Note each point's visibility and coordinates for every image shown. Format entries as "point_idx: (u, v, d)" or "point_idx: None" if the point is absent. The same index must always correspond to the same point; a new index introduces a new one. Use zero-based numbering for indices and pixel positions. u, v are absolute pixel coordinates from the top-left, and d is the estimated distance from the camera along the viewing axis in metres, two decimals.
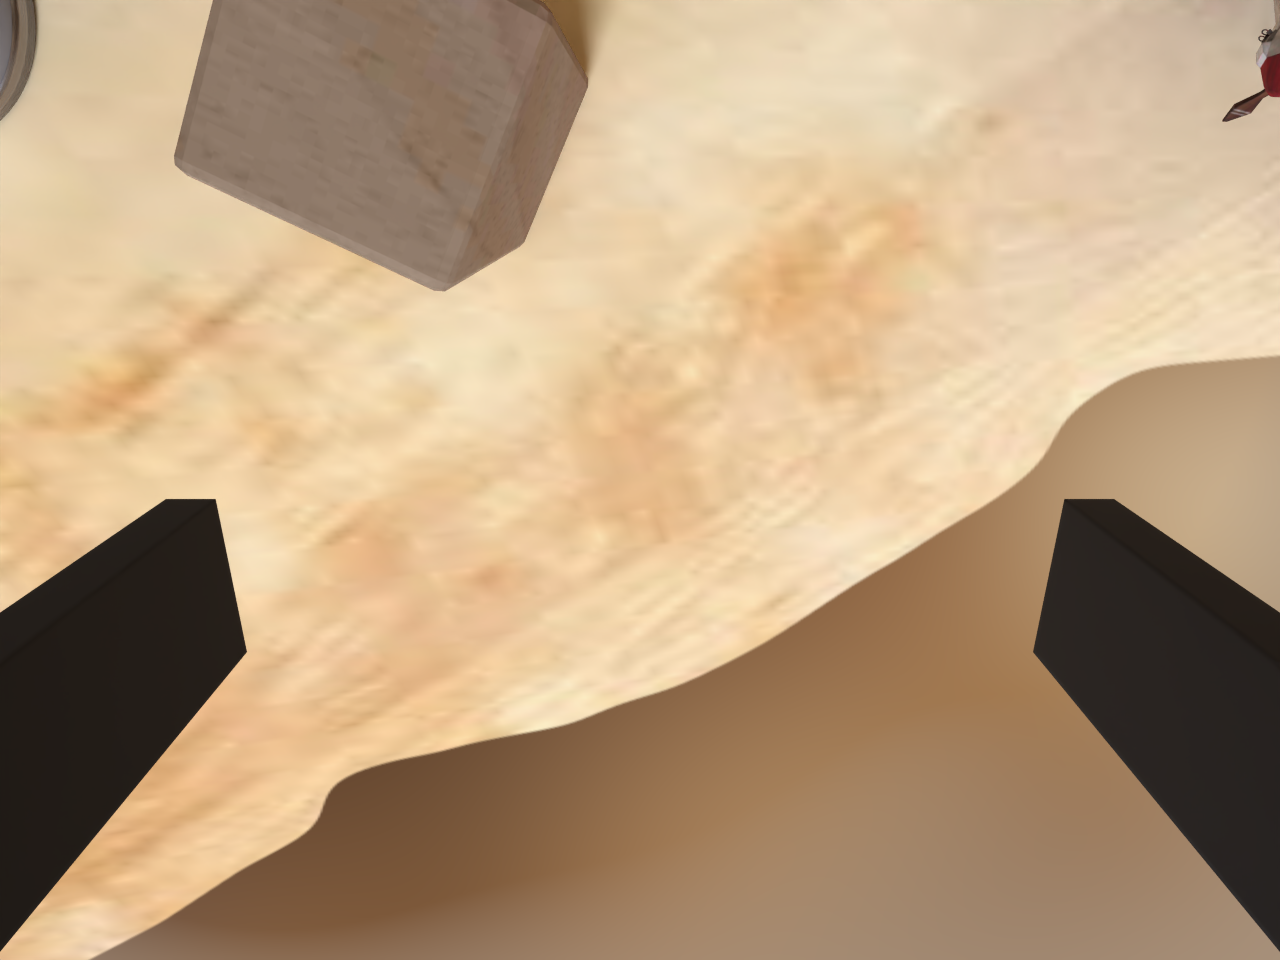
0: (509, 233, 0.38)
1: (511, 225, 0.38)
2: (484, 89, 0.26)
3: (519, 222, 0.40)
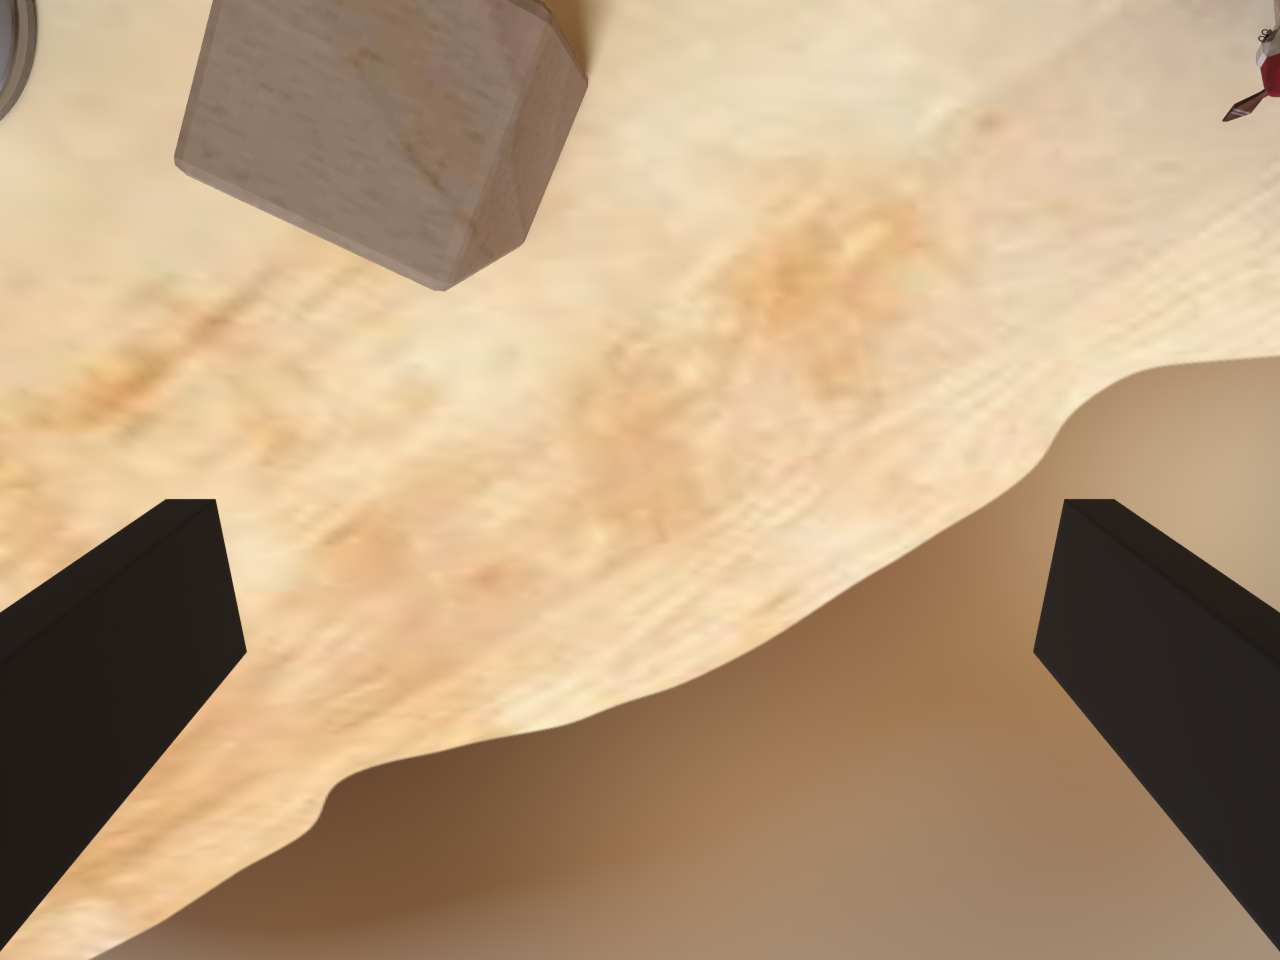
0: (509, 233, 0.38)
1: (511, 225, 0.38)
2: (484, 89, 0.26)
3: (519, 222, 0.40)
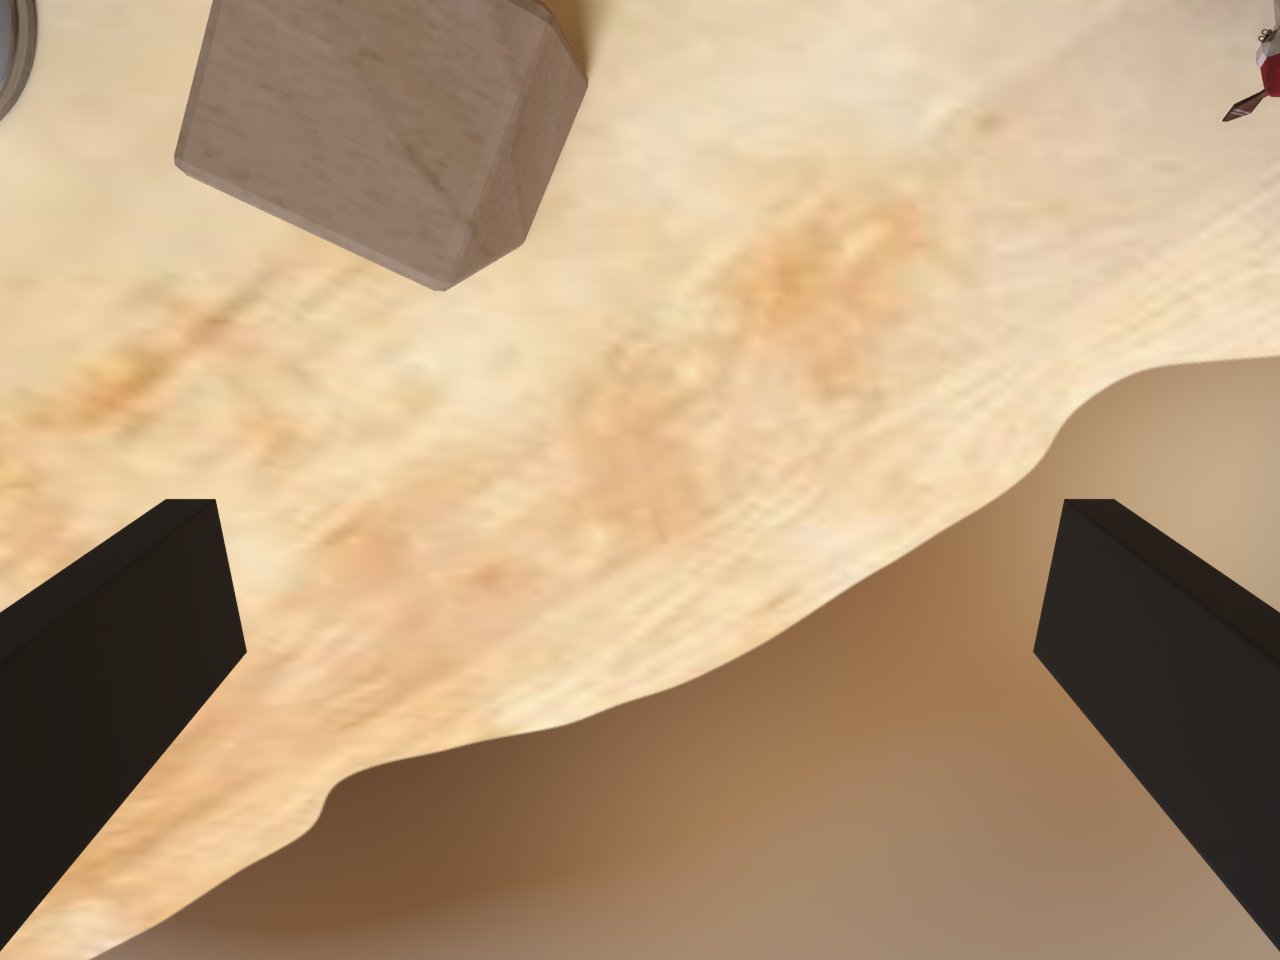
0: (509, 233, 0.38)
1: (511, 225, 0.38)
2: (484, 89, 0.26)
3: (519, 222, 0.40)
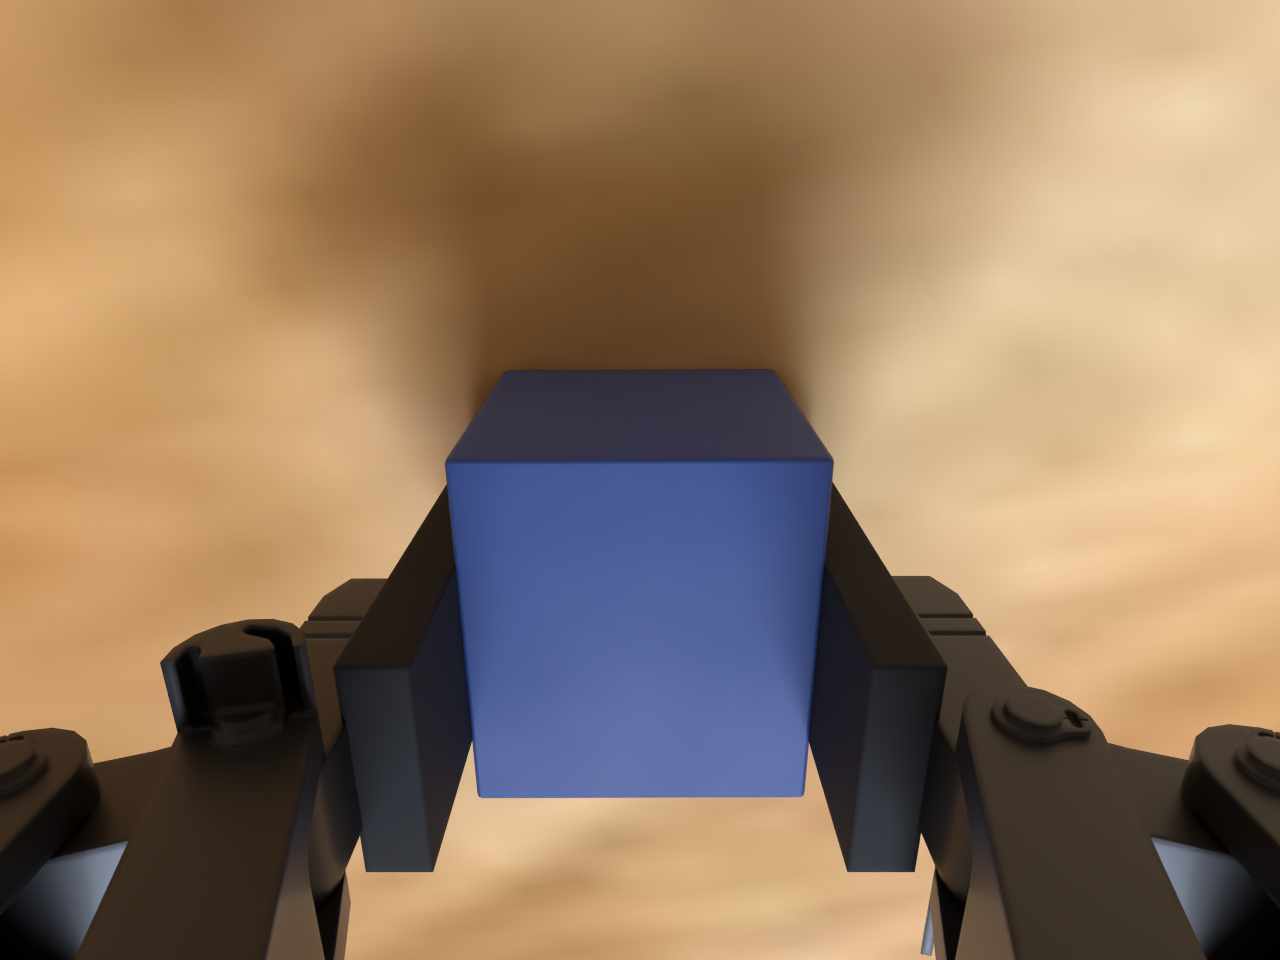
0: None
1: None
2: None
3: None
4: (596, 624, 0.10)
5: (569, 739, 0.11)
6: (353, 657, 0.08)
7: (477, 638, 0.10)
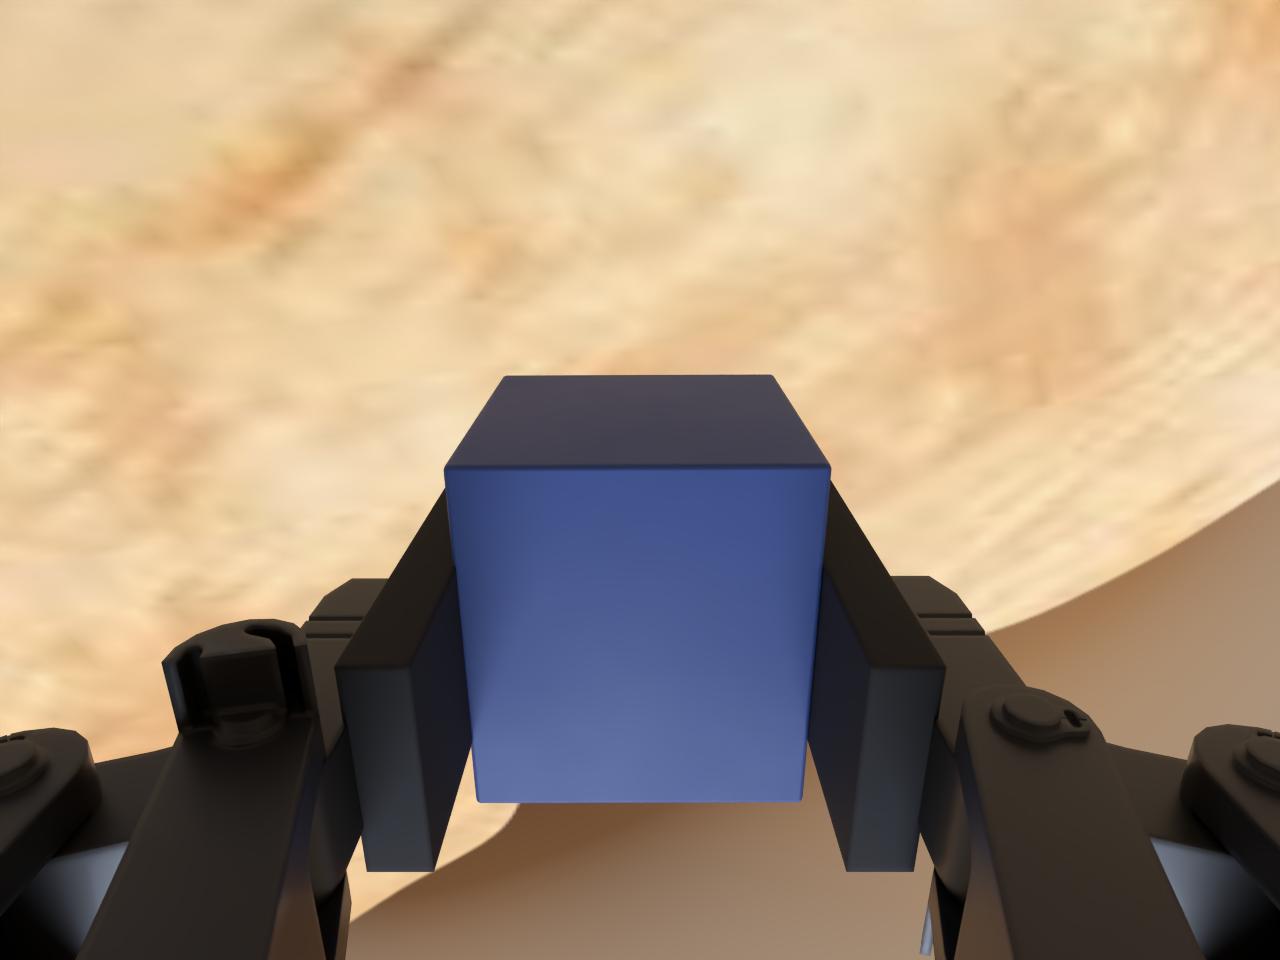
0: None
1: None
2: None
3: None
4: (595, 630, 0.10)
5: (568, 744, 0.11)
6: (354, 657, 0.08)
7: (475, 644, 0.10)
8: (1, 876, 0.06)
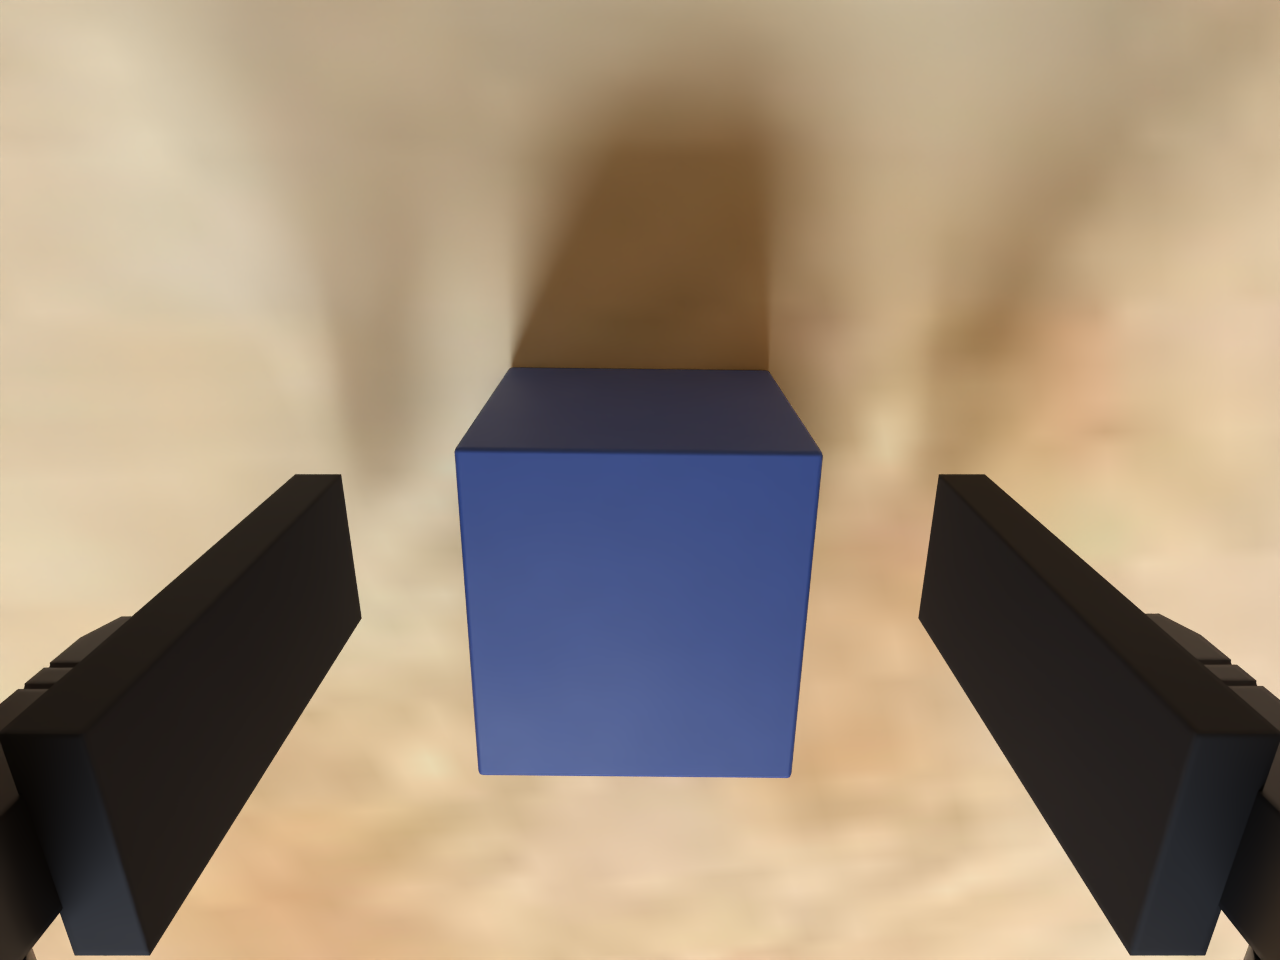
0: None
1: None
2: None
3: None
4: (595, 609, 0.11)
5: (567, 718, 0.11)
6: (28, 722, 0.07)
7: (481, 620, 0.11)
8: None
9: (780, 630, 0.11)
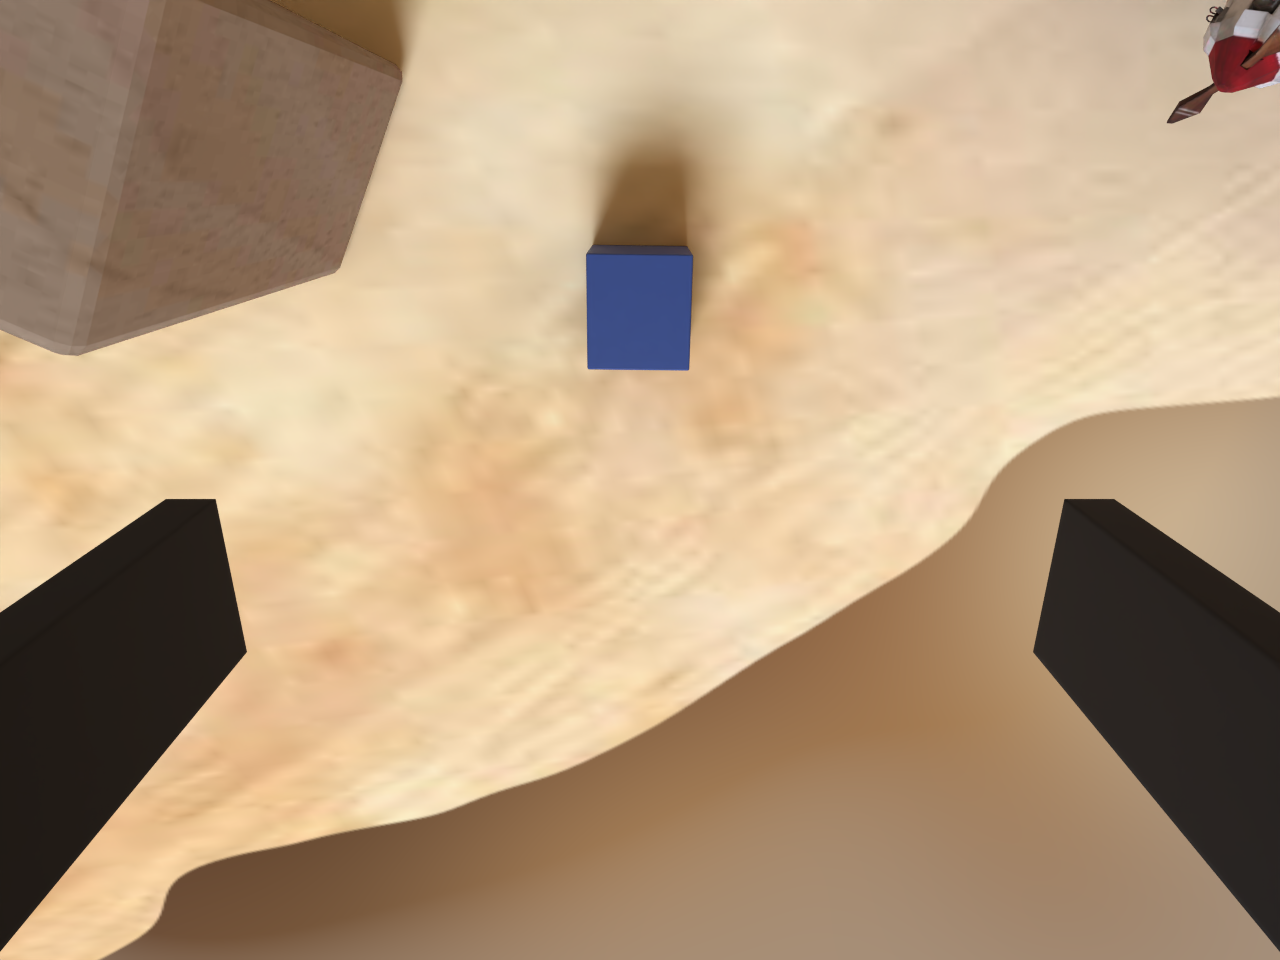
0: (271, 263, 0.30)
1: (269, 254, 0.30)
2: (78, 79, 0.18)
3: (298, 248, 0.32)
4: (626, 306, 0.36)
5: (617, 347, 0.36)
6: None
7: (591, 310, 0.36)
8: None
9: (683, 314, 0.36)
